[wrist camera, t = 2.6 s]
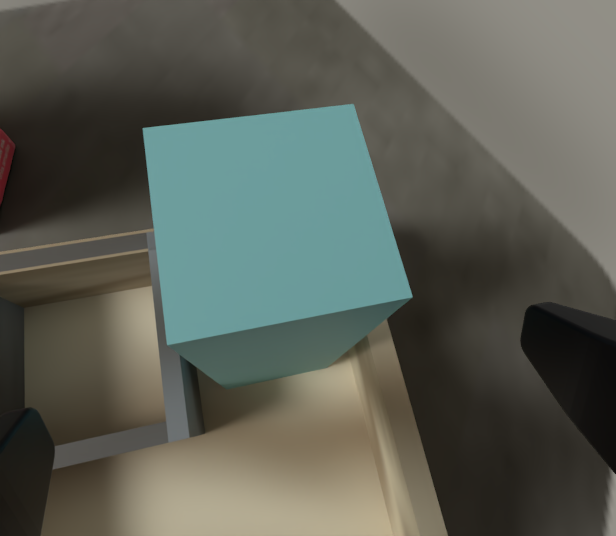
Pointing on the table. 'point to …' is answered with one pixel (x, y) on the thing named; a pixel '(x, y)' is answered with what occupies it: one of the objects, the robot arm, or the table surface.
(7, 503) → the robot arm
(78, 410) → the walled box
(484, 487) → the table surface
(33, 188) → the table surface
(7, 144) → the ink box
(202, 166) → the plug
